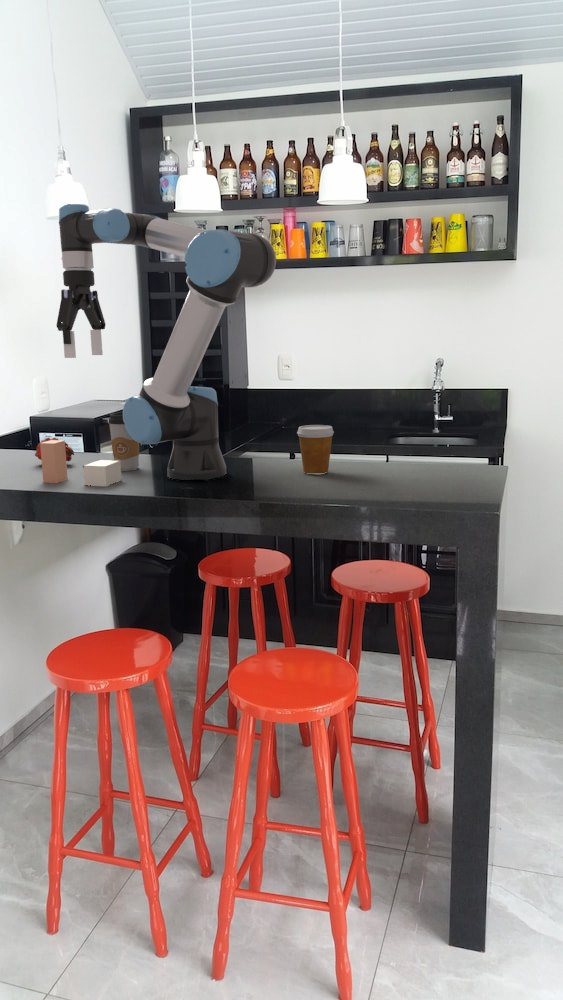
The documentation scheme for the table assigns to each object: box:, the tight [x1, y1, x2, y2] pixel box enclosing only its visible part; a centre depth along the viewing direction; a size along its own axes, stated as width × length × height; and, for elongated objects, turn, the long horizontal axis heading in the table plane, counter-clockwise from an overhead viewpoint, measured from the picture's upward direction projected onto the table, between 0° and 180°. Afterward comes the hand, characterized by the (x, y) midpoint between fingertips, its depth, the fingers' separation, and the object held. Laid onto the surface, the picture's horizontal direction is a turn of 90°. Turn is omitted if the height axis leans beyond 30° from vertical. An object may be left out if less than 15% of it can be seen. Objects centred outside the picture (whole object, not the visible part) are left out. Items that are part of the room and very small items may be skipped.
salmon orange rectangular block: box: [39, 439, 68, 484], centre depth 210 cm, size 4×5×10 cm
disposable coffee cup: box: [296, 424, 335, 473], centre depth 214 cm, size 10×10×12 cm
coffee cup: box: [108, 412, 140, 472], centre depth 224 cm, size 8×8×15 cm
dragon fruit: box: [34, 437, 75, 462], centre depth 233 cm, size 8×8×12 cm
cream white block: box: [82, 459, 122, 487], centre depth 207 cm, size 6×8×5 cm
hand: (84, 356), depth 211 cm, fingers open, 13 cm apart
